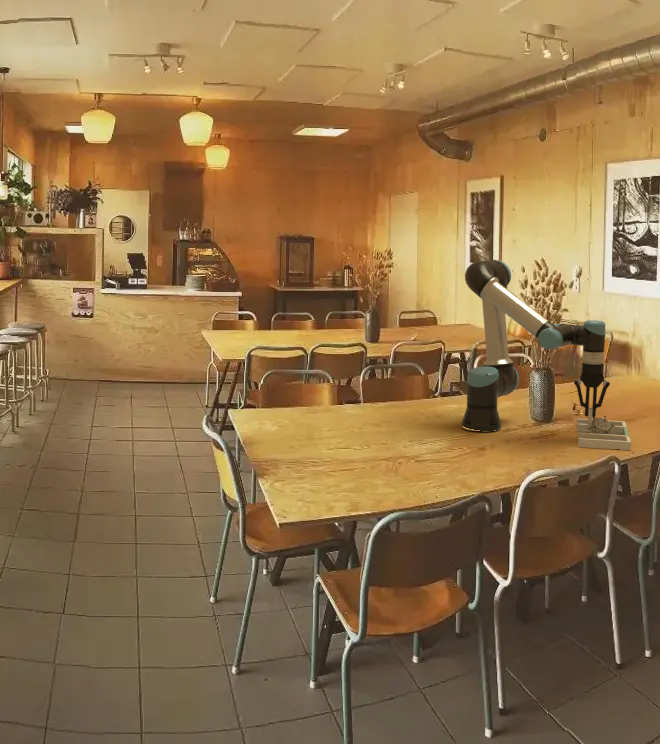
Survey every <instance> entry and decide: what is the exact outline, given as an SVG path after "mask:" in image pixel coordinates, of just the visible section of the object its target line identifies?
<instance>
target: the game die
mask: <svg viewBox="0 0 660 744" xmlns="http://www.w3.org/2000/svg"><path fill="white" fill-rule="evenodd" d="M603 416H604V417H592V420H593V421H592V426H590V427H589V428H587V429H590V430H591V431H592V433H595V434H609V432H610V430H611V428H612V426H614V425H611V424H610V423H609V422H608V419H607V418H606V417H607V416H606V415H603Z"/></svg>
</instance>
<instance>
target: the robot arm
mask: <svg viewBox="0 0 660 744" xmlns="http://www.w3.org/2000/svg"><path fill="white" fill-rule="evenodd" d="M511 272H512V271H511V268H510V267H509V266H508V264H506V263H505V262H504V261H501V260H498V259H488V260H478V261H474V262H472V263H471V264H470V265H469V266H468V267H467V269H466V270H465V272H464V273H465V274H464V280H465V281H464V282H465V284H466V285H467V287H468V289H470V290H471V291H472V292H473V293H474V294H476V296H477V297H478V298H479V299H481V303H482V313H483V315H482V316H483V327H484V338H485V339H484V341H485V350H486V360H485V361H484V362H483V366H477V367H474V368H471V369H470V370H468V372H467V379H466V383H467V384H466V385H467V388H466V409H465V412H464V415H463V417H462V421H461V427H462V426H464V427H466V428H469V429H474V430H480V431H494V430H498V429H500V428H501V429H502V422H501V418H500V415H499V411H498V398H500V397H504V396H507V395H508V396H509V395H510V394H511V393H512V392H514V391H515V390H516V389H517V387H518V386H519V383H520V376H519V375H520V374H519V373H518V371H517V369H516V368H515V367H514V361H513V359H511V358H510V357H509V356H510V355H509V345H508V343H509V342H508V332H507V331H508V330H507V321H506V315H507V316H508V317H509V318H511V319H512V320H513V321H515V322H516V323H517V324H518V325H520V326H521V327H522V328H523V329H525V330H526V331H527V332H528V333H529V334H531V335H532V336H533V337H535V338H536V339H537V342H538V344H539V345H540V347H541V348H543V349H545V350H557V349H558V348H561V347H566V346H579V347H581V346H582V363H581V374H580V377H579V378H578V379H574V381H573V384H574V385H575V387H576V390H577V395H578V400H579V404H580V407H582V408H584V416H585V417H587V419H588V426H592V420H593V417H594V418H596V411H597V408H601V407H602V405H603V401H604V398H605V395H606V393H607V389H608V388H609V386H610V385H611V383H610V381H608V380H606V379H605V377H604V367H605V366H604V364H603V363H604V362H605V344H606V334H607V332H606V323H605V322H604V321H603V320H599V319H598V320H597V319H596V320H595V319H592V320H591V319H590V320H585V321H584V323H583V325H582V324H581V325H580V324H568V323H555V324H554V323H552V322H551V321H550V320H548V319H547V318H546V317H544V316H543V315H542V314H540V313H539V312H538V311H537V310H535V309H534V308H532V306H530V305H529V304H528V303H526V302H525V301H524V300H522V299H521V298H520V297H518V296H517V295H516V294H514V293H513V292H512V291H511V290H509V289H508V286H509V284H510V283H511V280H512V273H511ZM582 384H583V385H584V387H585V401H584V397H583V393H582V388H581V385H582ZM601 384H602V386H603V387H602V389H601V392H600V394H599V395H600V396H599V399H598V398H597V397H598V394H597V393H598V388H599V387H600V386H601ZM591 389H592V405H591V406H592V407H591V406H590V391H591ZM597 399H598V401H597ZM501 429H500V430H501Z"/></svg>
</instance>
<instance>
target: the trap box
mask: <svg viewBox="0 0 660 744" xmlns="http://www.w3.org/2000/svg"><path fill="white" fill-rule="evenodd" d="M607 420H608V419H607ZM592 421H593V419H592ZM608 422H609V423H610V424H611V425H614V426H612V428H611V430H610V432H609V434H595V433H592V431H591V430H590V429H587V428H589V427H590V426H588V418H577V419H576V433H577V447H578V448H587V449H590V448H591V449H600V450H601V449H602V450H603V449H604V450H615V449H620V451H630V450H631V449H632V441H631V437H630V436H631V435H630V433H629V430H628V426H627V424H626V421H624V420H608ZM588 432H589V433H588ZM620 434H623V435H620ZM631 451H632V450H631Z"/></svg>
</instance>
